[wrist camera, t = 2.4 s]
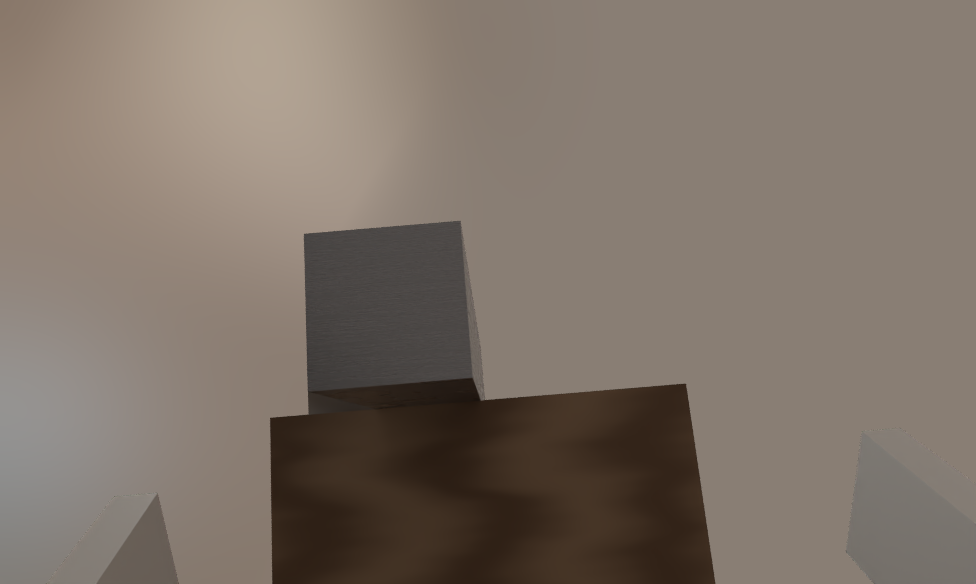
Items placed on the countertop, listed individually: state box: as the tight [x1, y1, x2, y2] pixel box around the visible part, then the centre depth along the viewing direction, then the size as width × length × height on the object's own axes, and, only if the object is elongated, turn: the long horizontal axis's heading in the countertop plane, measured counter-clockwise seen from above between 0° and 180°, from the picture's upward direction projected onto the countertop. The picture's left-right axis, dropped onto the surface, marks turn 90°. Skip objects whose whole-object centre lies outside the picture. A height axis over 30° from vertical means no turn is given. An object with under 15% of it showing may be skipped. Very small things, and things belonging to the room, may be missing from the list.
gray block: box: [304, 221, 485, 409], centre depth 28 cm, size 4×24×4 cm, turn 179°
